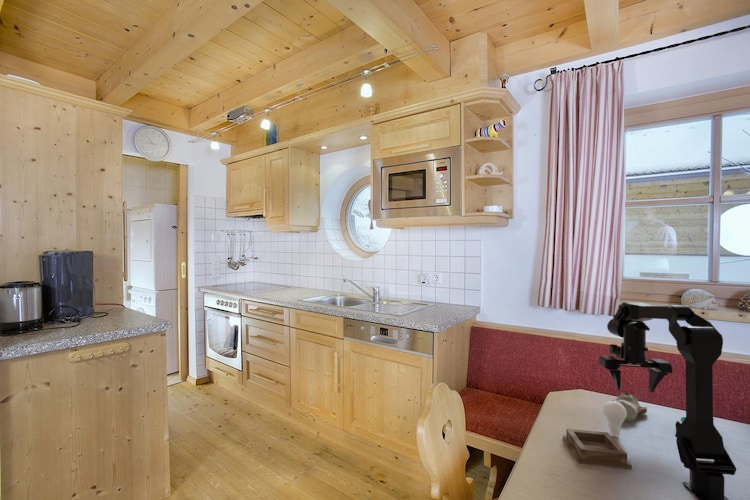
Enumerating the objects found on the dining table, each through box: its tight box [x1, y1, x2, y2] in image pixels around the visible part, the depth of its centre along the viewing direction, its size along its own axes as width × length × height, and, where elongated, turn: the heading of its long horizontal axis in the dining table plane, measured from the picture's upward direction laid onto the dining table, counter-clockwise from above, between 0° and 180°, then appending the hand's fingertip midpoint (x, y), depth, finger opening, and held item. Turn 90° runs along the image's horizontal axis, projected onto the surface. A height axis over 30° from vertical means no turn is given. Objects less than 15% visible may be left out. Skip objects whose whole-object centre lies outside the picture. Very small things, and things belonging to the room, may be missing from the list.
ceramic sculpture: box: [611, 391, 648, 422], centre depth 125 cm, size 11×9×15 cm
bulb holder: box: [562, 428, 633, 470], centre depth 102 cm, size 13×13×4 cm
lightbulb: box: [602, 400, 627, 438], centre depth 111 cm, size 6×6×11 cm
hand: (634, 391), depth 112 cm, fingers open, 9 cm apart
